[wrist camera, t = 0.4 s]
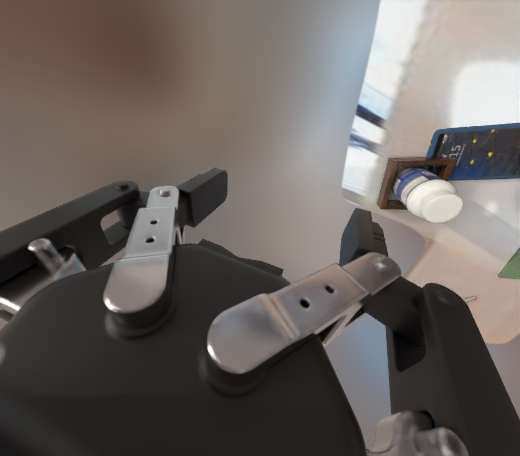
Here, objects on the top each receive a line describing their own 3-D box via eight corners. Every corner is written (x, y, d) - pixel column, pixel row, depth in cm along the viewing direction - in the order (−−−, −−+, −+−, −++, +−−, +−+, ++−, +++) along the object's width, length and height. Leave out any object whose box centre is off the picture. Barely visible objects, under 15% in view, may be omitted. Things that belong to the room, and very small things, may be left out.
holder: (388, 158, 31) (393, 161, 29) (448, 156, 29) (456, 159, 28) (376, 204, 35) (380, 209, 34) (428, 204, 34) (434, 210, 32)
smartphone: (540, 178, 28) (419, 182, 32) (535, 176, 29) (417, 180, 32) (579, 117, 24) (436, 129, 28) (572, 117, 25) (433, 129, 28)
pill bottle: (436, 180, 31) (481, 208, 23) (403, 203, 34) (433, 234, 26) (415, 158, 30) (454, 179, 22) (383, 183, 33) (407, 210, 25)
